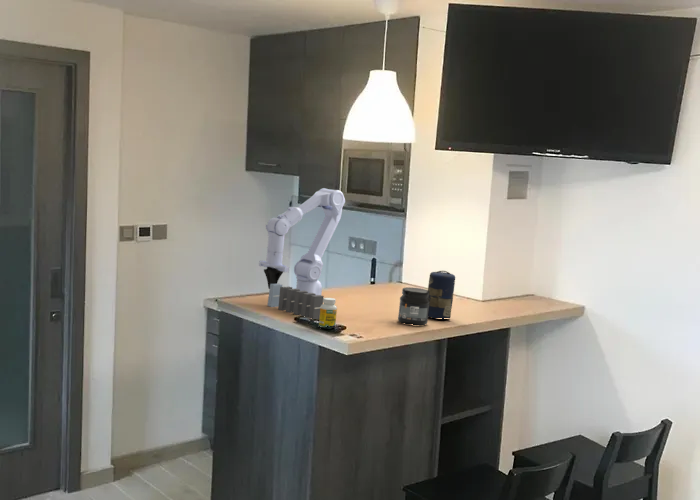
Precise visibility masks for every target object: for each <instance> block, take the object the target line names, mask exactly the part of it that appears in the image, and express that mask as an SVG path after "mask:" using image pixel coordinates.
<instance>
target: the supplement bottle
mask: <svg viewBox="0 0 700 500" xmlns="http://www.w3.org/2000/svg"><path fill="white" fill-rule="evenodd" d="M336 302H337V301H336V298H333V297H323V304H322V305H321V307H320V318H319V319H318V320H319V321H318V327H319V326H320V327H327V326H333V325H335V326H336V322H337V313H338V312H337V311H338V307H337V306H336V305H335V304H336Z"/></svg>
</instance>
